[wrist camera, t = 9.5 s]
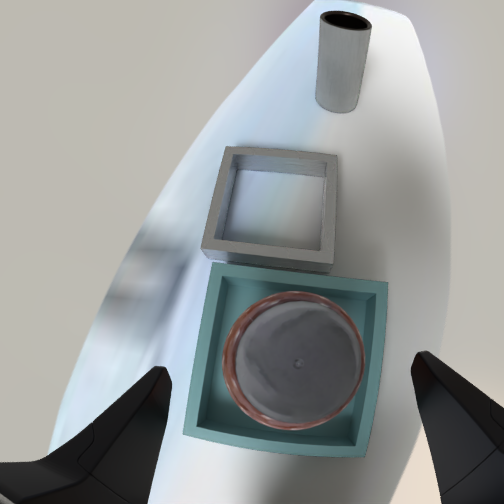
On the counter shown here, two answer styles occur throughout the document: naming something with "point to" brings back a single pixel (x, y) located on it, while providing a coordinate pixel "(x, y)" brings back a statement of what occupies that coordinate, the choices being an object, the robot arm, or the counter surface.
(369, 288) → the bin
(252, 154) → the collar
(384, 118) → the counter surface
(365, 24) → the grey hollow cylinder
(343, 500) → the counter surface
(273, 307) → the supplement bottle
